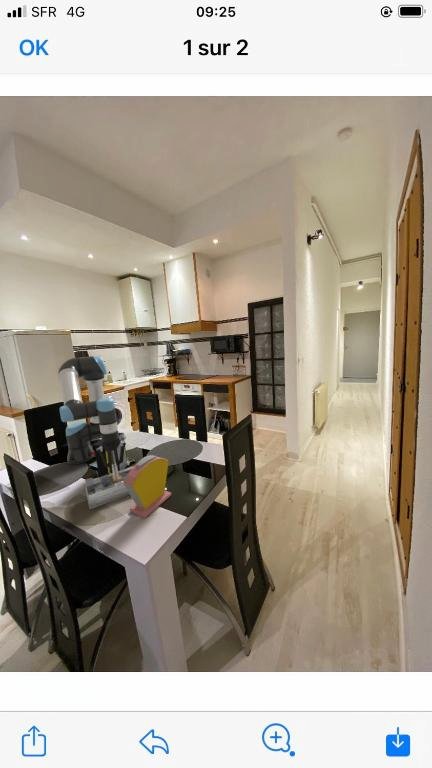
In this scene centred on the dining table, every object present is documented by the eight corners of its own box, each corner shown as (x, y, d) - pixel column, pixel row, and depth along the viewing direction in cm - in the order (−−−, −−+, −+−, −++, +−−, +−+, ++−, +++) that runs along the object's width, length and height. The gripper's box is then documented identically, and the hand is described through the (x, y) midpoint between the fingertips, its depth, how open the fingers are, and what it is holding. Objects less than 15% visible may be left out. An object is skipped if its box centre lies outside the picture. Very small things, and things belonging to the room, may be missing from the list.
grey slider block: (86, 488, 117) (85, 479, 116) (100, 484, 120) (99, 475, 119) (88, 496, 111) (86, 486, 110) (102, 491, 114) (101, 482, 113)
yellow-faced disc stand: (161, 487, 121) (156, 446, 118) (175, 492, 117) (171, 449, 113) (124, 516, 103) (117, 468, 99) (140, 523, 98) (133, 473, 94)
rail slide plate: (86, 494, 120) (83, 480, 119) (139, 475, 134) (138, 463, 132) (89, 509, 108) (87, 495, 107) (148, 487, 122) (146, 474, 121)
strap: (101, 482, 120) (101, 479, 119) (134, 473, 128) (134, 469, 128) (103, 489, 114) (103, 485, 114) (137, 478, 123) (137, 475, 122)
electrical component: (113, 481, 129) (107, 445, 126) (96, 480, 132) (90, 445, 128) (131, 464, 146) (126, 432, 143) (115, 464, 148) (111, 432, 145)
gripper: (94, 437, 109) (101, 486, 113) (126, 430, 116) (132, 476, 120) (92, 432, 115) (99, 479, 119) (122, 426, 122) (128, 470, 126)
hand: (115, 477), depth 120 cm, fingers closed, pressing on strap
